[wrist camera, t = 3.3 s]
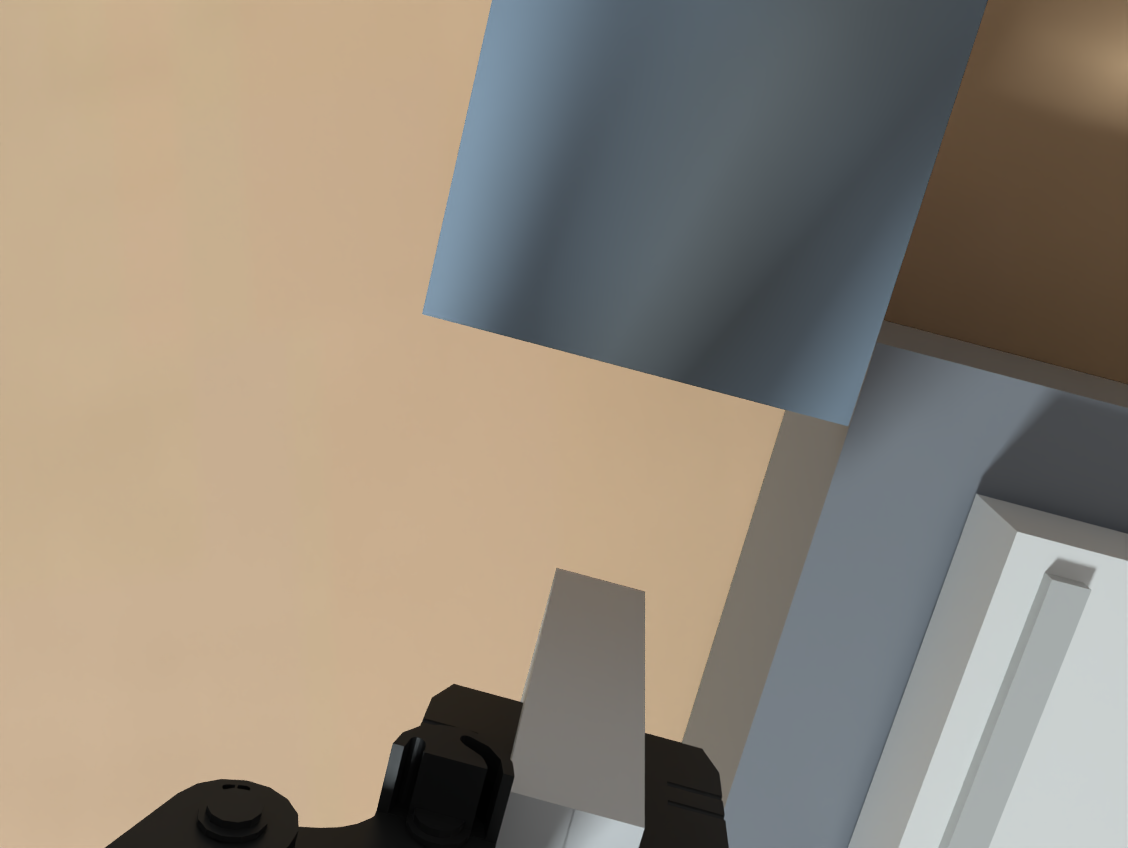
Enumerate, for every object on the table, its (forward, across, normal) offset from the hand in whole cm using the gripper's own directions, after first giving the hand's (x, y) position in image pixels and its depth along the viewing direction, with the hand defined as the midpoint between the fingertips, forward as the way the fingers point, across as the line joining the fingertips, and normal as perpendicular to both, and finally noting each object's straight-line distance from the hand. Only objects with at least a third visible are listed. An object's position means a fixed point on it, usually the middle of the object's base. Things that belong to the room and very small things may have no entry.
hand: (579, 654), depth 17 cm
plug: (+8, -1, +8) cm, 11 cm away
